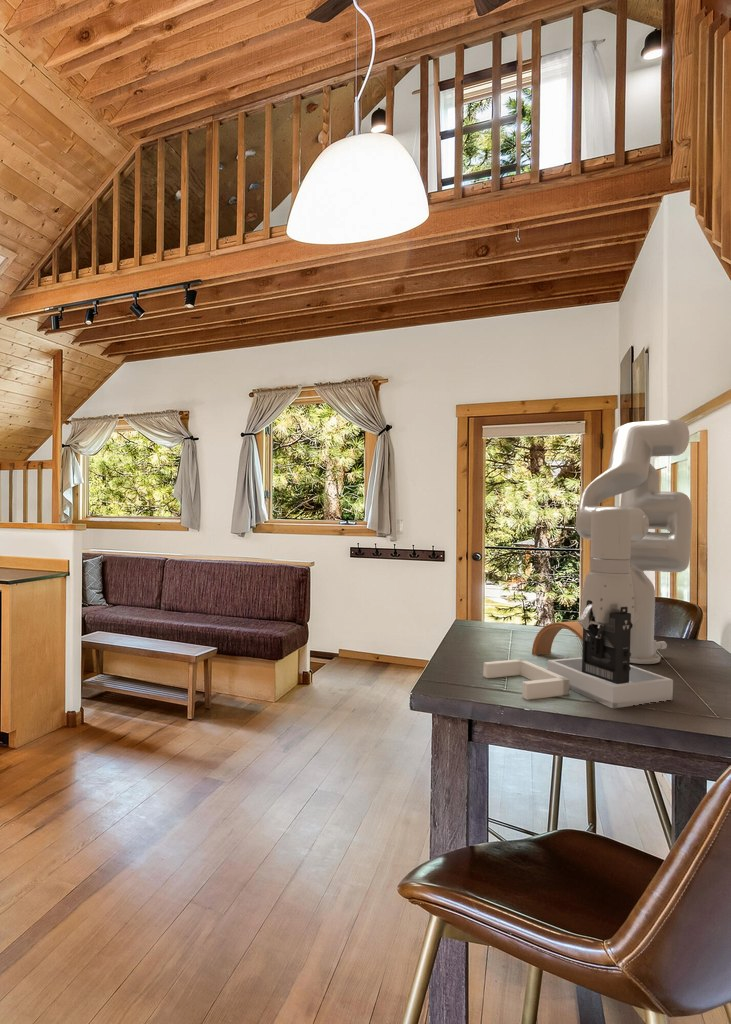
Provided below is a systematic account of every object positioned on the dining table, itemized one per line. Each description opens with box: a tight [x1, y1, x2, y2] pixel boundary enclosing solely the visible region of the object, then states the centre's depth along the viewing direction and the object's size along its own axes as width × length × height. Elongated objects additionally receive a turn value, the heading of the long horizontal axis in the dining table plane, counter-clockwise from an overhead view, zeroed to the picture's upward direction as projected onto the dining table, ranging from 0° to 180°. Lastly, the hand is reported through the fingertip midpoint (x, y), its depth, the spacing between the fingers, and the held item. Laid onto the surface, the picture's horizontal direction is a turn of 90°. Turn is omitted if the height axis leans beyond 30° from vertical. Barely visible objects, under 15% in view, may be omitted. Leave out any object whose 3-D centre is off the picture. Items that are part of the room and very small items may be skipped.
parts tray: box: [546, 656, 674, 710], centre depth 110 cm, size 15×18×4 cm
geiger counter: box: [581, 607, 631, 684], centre depth 110 cm, size 10×5×15 cm, turn 28°
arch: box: [531, 620, 583, 656], centre depth 128 cm, size 6×20×10 cm, turn 25°
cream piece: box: [482, 658, 570, 701], centre depth 111 cm, size 10×15×3 cm, turn 21°
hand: (607, 655), depth 110 cm, fingers closed on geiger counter, 5 cm apart
